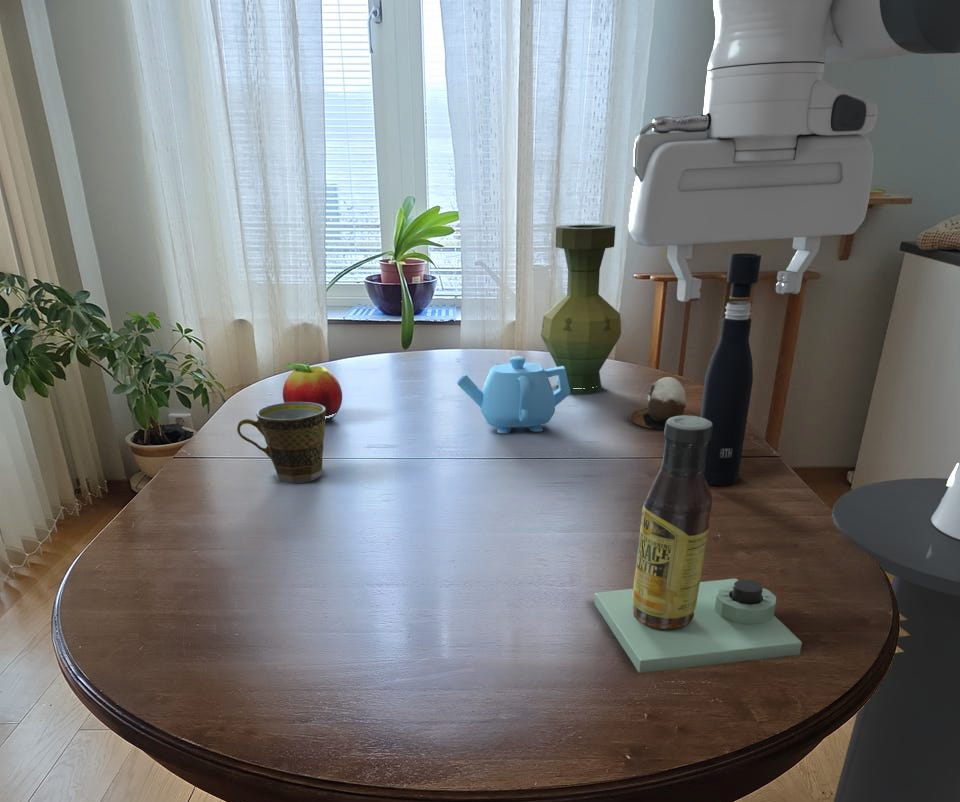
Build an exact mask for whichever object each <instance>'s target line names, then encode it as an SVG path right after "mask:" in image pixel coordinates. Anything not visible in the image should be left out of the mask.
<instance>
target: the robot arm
mask: <svg viewBox="0 0 960 802" xmlns="http://www.w3.org/2000/svg"><path fill="white" fill-rule="evenodd" d="M712 4H713V14H714V20H715V36H714V43H713V48H712V50H711V54H710V56H709V60H708V64H707V69H706V70H707V74H706V77H705V78H706V79H705V91H704V102H703V113H702V114H689V115H683V116H672V117H671V116H670V115H662V116H657V117H654V118H653V120H652V122H650V123H648V124H646V125H645V126H644V127H643V128H642V129H641V130H640V131H639V133H638V134H637V136H636V138H635V142H634V148H633V170H634V173H635V181H634V186H633V190H632V191H633V192H632V197H631V203H630V212H629V220H628V233H629V235H630V236H631V238H632V239H633V241H634V242H635V244H636V245H639V246H642V247H643V246H644V247H648V248H649V247H650V248H651V247H667V254H666V255H667V256H666V257H667V261H668V263H669V264H670V267H671V269H672V270H673V273H674V275H675V277H676V279H677V288H676V299H677V301H680V302H682V303H686V302H687V303H688V302H696V301H697V302H698V301H699V300H700V298H701V294H702V293H701V291H700V290H701V289H702V282H703V280H702V278H697V277H695V276H693V275H692V273H691V270H690V268H689V265H688V263H687V260H689V259H691V260H692V258H693V250H694V245H701V244H716V243H731V242H749V241H762V240H781V239H792V240H793V241H792V246H791V247H792V249H793V250H796V252H795V253H794V256H793V257H792V259H791V261H790V263H789V265H788V267H787V268H786V270H779V271H777V276H776V281H777V283H776V284H775V292H776V294H781V295H797V294H799V293H800V292H801V289H802V288H801V287H802V281H803V275H804V273H805V272H806V271H807V269H808V268H809V266H810V265H811V263H812V262H813V260H814V259H815V257H816V256H817V254H818V253H819V251H820V246H821V245H820V244H821V239H822V237H828V236H829V237H830V236H843V235H845V236H846V235H853V234H854V233H855V232H856V231H857V230H858V229H859V227H860V226H861V225H862V224H863V222H864V221H865V219H866V215H867V211H868V207H869V200H870V194H871V188H872V179H873V169H874V151H873V150H874V149H873V146H872V144H871V142H870V140H869V139H868V138H867V137H866V136H863V135H865V134H868V133H870V132H872V130H873V129H874V127H875V126H876V122H877V118H878V110H879V109H878V108H879V107H878V105H877V103H876V102H874V101H873V100H871V99H868V98H866V97H864V96H861V95H858V94H856V93H853V92H851V91H848V90H846V89H844V88H841V87H839V86H836V85H835V84H832V83H830V82H828V81H825V80H823V79H824V73H825V66H826V63H829V64H844V63H853V62H859V61H873V60H881V59H887V58H893V57H900V56H908V55H916V54H919V55H920V54H921V55H935V54H936V55H937V54H940V55H941V54H960V0H713V1H712ZM651 130H652V132H653V133H648V132H649V131H651ZM947 479H948V483H947V486H949V487H948V489H947V491H946V493H945V495H944V497H943V498H942V500H941V502H940V505H939V506H938V508H937V510H936V511H935V513H934V514H933V516H932V518H931V521H932V523H933V525H934V526H935V527H936V528H937V529H939V530H940V531H942V532H943V533H945V534H947V535H949V536H951V537H954V538H956V539H959V540H960V461H959V462H957V463H956V465H955V467H954V469H953V471H952V472H951V474H950V476H949V478H947Z"/></svg>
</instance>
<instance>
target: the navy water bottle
mask: <svg viewBox="0 0 960 802" xmlns="http://www.w3.org/2000/svg"><path fill="white" fill-rule="evenodd" d="M761 260H762V255H761V254H758V253H745V252H744V253H732V254H730V255H729V262H728V269H727V278H726V282H727V283H729V284H731V288H730V293H729V294H730V295H729V299H730V300H731V301H729V302H727V303H726V306H725V309H726V311H725V312H724V315H725V316H724V317H723V318H722V319H721V327H720V334H719V340H718V342H717V344H716V346H715V349H714V351H713V352H712V355H711V358H710V360H709V363H708V367H707V369H706V372H705V377H704V381H703V390H702V397H701V398H702V399H701V408H700V415H699V417H702V418H705V419H707V420H709V421H711V422H712V424H713V428H712V437H711V439H710V441H709V442H708V446H707V453H706V459H705V465H706V466H705V470H704V477H705V479H706V482H707V484H708V486H712V487H713V486H714V487H725V486H726V487H727V486H732V485H734V484H737V482H738V480H739V475H740V469H741V463H742V462H741V461H742V456H743V449H744V444H745V443H744V442H745V435H746V430H747V429H746V428H747V422H748V415H749V409H750V403H751V396H752V388H753V383H754V369H753V367H754V366H753V365H754V364H753V357H752V356H753V355H752V352H751V347H750V334H751V326H752V318H751V317H750V316H751V314H752V312H751V310H752V303H751V302H747V301H749V300H750V299H751V291H752V285H753V284H757V283H758V281H759V273H760V267H761V262H762V261H761Z"/></svg>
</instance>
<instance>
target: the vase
mask: <svg viewBox="0 0 960 802" xmlns="http://www.w3.org/2000/svg"><path fill="white" fill-rule="evenodd" d="M616 227H617V226H616V225H612V224H599V223H597V224H596V223H595V224H593V223H592V224H591V223H590V224H589V223H588V224H584V223H583V224H580V223H579V224H565V225H557V226H556V227H555V244H554V245H555V248H557V249H562V250H563V252H564V256H565V262H566V267H567V283H566V284H567V285H566V286H567V287H566V288H567V289H566V290H567V291H566V295H565V296H564V297H562V298H561V299H560V300H559V301H557V303H555V304H554V305H553V306H552V307H551V308H550V309H548V311H546V312H545V314H544V315H543V317H542V324H541V332H540V336H541V340H542V341H543V343H544V344H545V346H546V348H547V350H548V353H549V354H550V356H551V358H552V360H553V362H554V364H555V367H560V366H564V367H565V370H566V374H567V379H568V383H569V388H570V392H571V394H572V395H573V394H574V395H585V394H586V395H588V394H594V393H595V394H596V393H598V392H601V391H602V382H601V373H600V371H601V369H602V368H603V366H604V364H605V363H606V361H607V359H608V357H609V356H610V355H611V353H612V351H613V349H614V348H615V346H616V345H617V342H618V341H619V340H620V338H621V335H622V324H621V323H622V322H621V313H620V312H619V311H618V310H616V308H614V307H613V306H612V305H611V304H610V303H609V302H608V301H607V300H605V298H604V297H602V296H601V295H600V294H599V292H600V275H601V271H600V270H601V267H602V262H603V259H604V255H605V252H606V249H612V248H615V240H616ZM557 383H558V381H557V382H556V388H555V390H557V389H558V388H559V385H557ZM596 386H597V387H596ZM592 387H594V388H592ZM573 388H582V389H573ZM583 388H585V389H583ZM571 394H570V395H571Z"/></svg>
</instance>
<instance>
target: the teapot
mask: <svg viewBox="0 0 960 802" xmlns="http://www.w3.org/2000/svg"><path fill="white" fill-rule="evenodd" d="M556 376H557V382H558V384H559V388H558V389H555V390H553V387H552V384H551V381H550V379H549V378H551V377H556ZM456 384H457V386H459V387H460V389H462V391H463V392H464V393H465V394H467V396H468V397H469V398H470V399H471V400H472V401H473V402H474V403H476V405H477V406H478V407H479V410H480V413H481V414H482V416H483V418H484V420H485V421H486V422H487V423H488V424H490V425H491V426H494V427H498V428H497V431H496V432H497V433H499V434H508V433H509V434H510V433H511V431H512V428H526V427H528V430H529V432H542V431H543V427H542V426H543V425H546V424H548V423H549V422H550V421H551V419H552V417H554V414H555V412H556V406H558V405H559V404H560V403H561V402H562V401H563V400H565V399H566V398H567V397H569V396H570V395H571V392H570V388H569V383H568V379H567V374H566V370H565V367H564V366H560V367H557V366H554V367H547V368H544V367H543V366H542V365H540V364H539V363H535V362H526V357H524V356H511V357H510V358H509V362H507V363H498V364H495V365H493V366H492V367H491V369H490V370H489V372H488V375H487V377H486V379H485V382H484V384H483V386H482V389H480V388H479V387H478V386H477V385H476V384H475V382H474V381H473V380H472V379H471V378H470V377H469V376H468V374H464V375H462V376H461V377H460V378H459V379H458V380H457V382H456Z"/></svg>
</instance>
